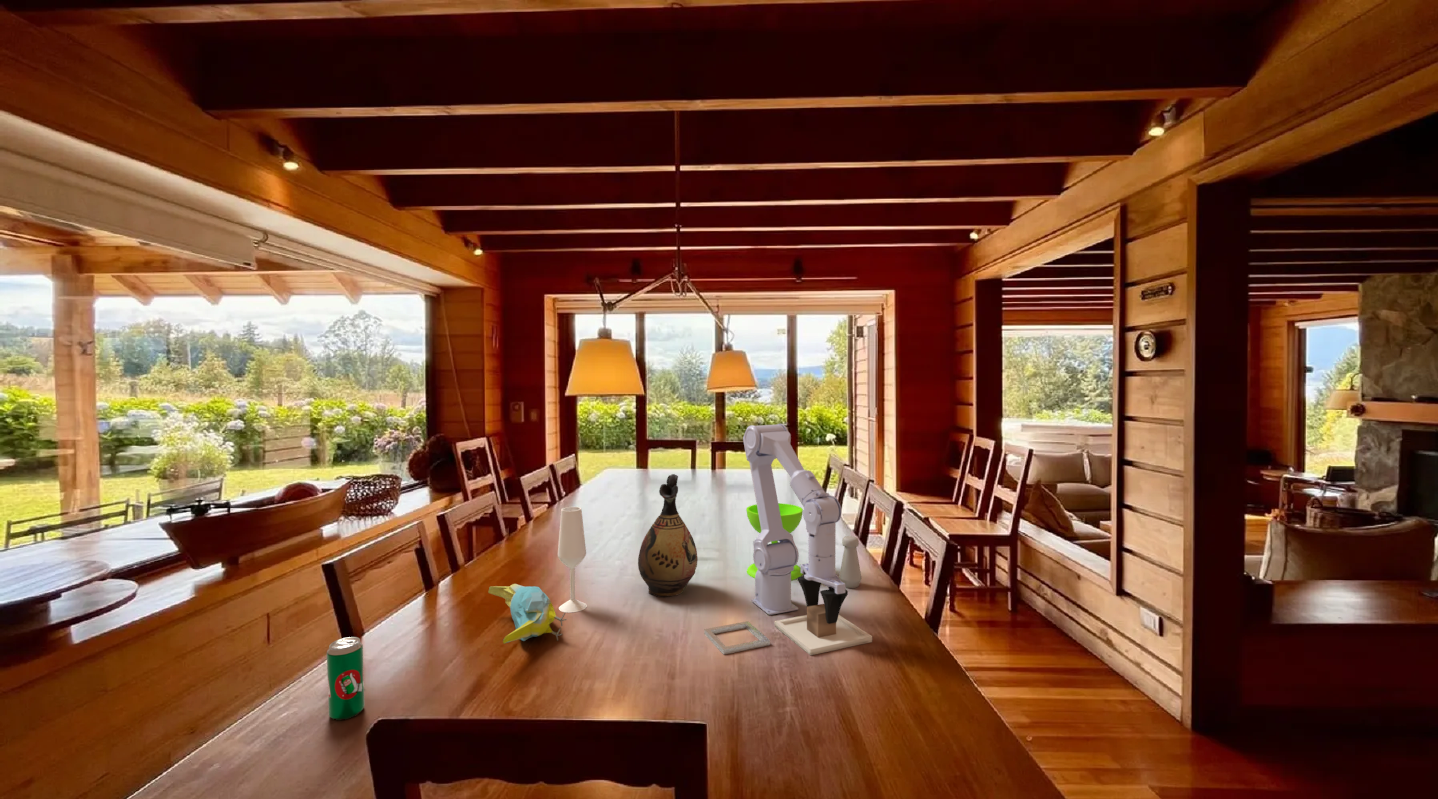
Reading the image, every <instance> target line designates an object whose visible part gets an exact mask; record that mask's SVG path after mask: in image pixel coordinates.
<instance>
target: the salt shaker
mask: <svg viewBox="0 0 1438 799" xmlns="http://www.w3.org/2000/svg"><path fill="white" fill-rule="evenodd" d="M841 542H842V543H841V544H842V546H843V547H844V548H843V554H842V559H841V566H840V569H839V575H838V577H839V578H840V580H841V581H842V582H843V583H845V589H846V588H848V589H855V588H858V587H860V586H859V585H860V583H861V581H862V572H861V566H860V560H859V554H858V549H857V548H858V547H859V544H860V540H859V538H858V537H856V536H853V535H848V536H844V537H842V541H841Z"/></svg>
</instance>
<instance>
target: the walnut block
mask: <svg viewBox="0 0 1438 799" xmlns="http://www.w3.org/2000/svg"><path fill="white" fill-rule="evenodd" d="M806 615H807V630H808V631H810V632H811V633H812V634H814V635H815V636H816V637H818V638H820V637H824V636H829V635H834V634H836V623H831V624H828V623H827V621H826V614H825V605H824V603H821V604H820V603H819V604H818V605H814V606H809V607H807V606H806Z"/></svg>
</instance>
